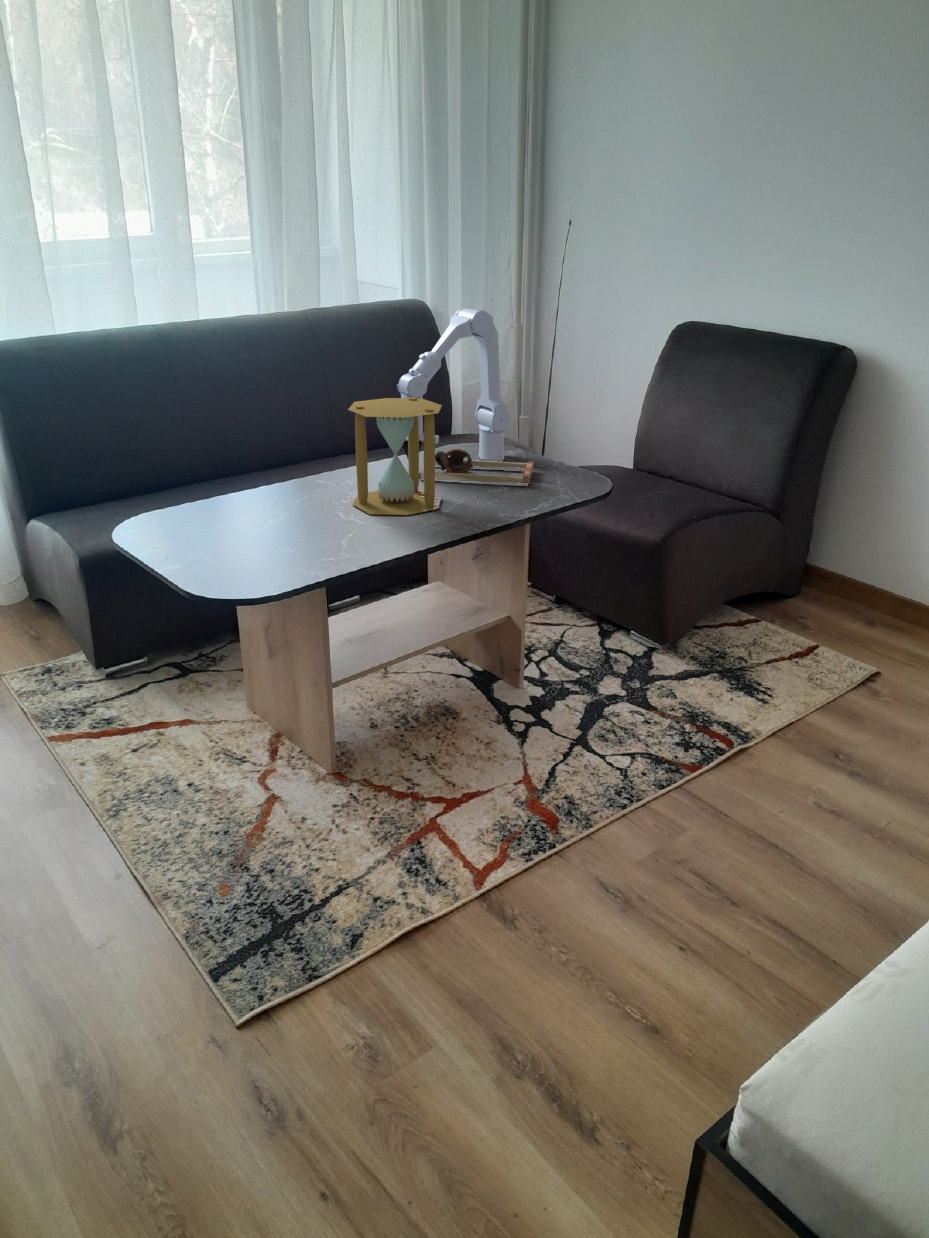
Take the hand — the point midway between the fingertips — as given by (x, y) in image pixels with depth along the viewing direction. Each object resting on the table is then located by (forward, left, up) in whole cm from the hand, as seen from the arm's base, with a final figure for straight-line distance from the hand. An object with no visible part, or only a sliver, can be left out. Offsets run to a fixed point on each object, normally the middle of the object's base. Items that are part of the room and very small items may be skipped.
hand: (412, 467), depth 264 cm
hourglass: (+28, +2, -2) cm, 28 cm away
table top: (0, +18, -2) cm, 18 cm away
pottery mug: (-1, +11, -2) cm, 12 cm away
